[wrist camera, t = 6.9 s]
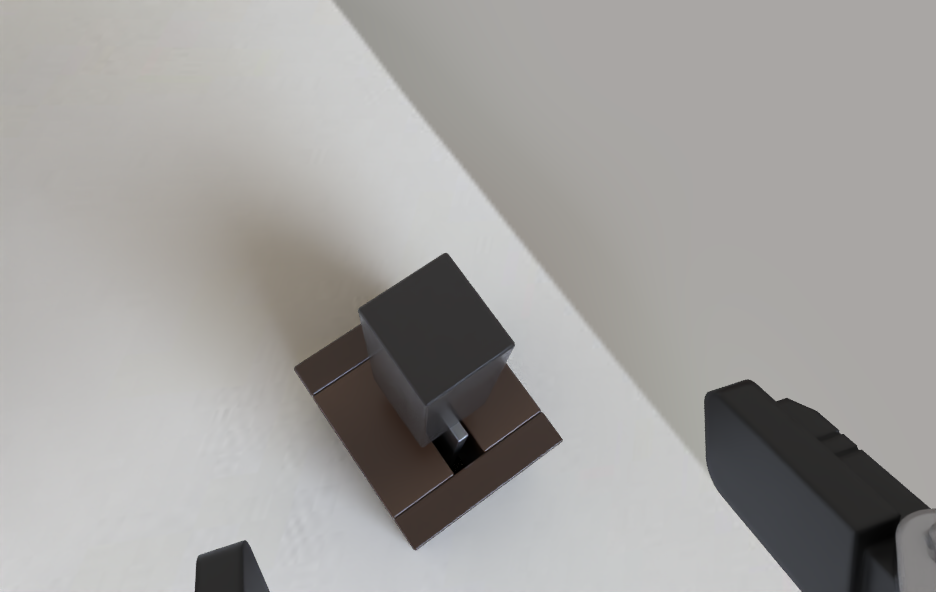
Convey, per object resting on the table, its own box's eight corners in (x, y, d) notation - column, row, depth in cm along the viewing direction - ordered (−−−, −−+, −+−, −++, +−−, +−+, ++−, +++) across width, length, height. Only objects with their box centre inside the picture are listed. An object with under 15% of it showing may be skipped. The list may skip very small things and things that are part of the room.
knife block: (532, 462, 27) (564, 440, 22) (414, 550, 26) (415, 551, 20) (434, 326, 29) (439, 271, 23) (317, 404, 27) (292, 367, 22)
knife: (472, 452, 27) (530, 362, 14) (425, 485, 27) (439, 426, 14) (423, 382, 28) (434, 234, 15) (377, 414, 27) (344, 291, 14)
